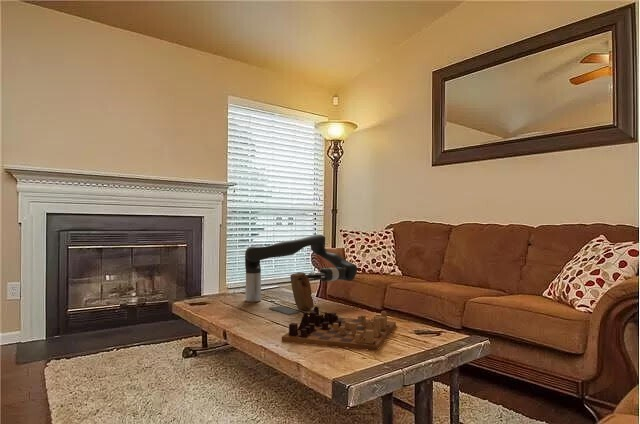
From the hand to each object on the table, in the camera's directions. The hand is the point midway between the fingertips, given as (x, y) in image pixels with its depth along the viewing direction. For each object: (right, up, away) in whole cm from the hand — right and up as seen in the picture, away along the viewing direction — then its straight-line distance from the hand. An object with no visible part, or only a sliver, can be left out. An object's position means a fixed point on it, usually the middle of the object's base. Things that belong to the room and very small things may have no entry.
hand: (304, 277), depth 239 cm
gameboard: (+18, -18, -49) cm, 55 cm away
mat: (-11, -18, -3) cm, 22 cm away
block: (+1, -17, 0) cm, 17 cm away
